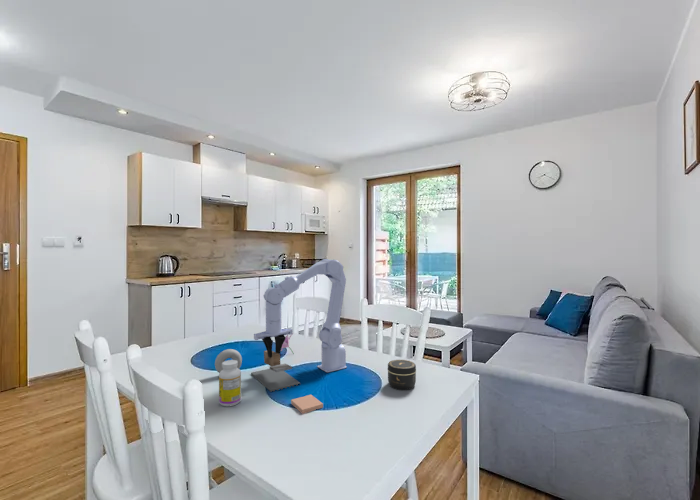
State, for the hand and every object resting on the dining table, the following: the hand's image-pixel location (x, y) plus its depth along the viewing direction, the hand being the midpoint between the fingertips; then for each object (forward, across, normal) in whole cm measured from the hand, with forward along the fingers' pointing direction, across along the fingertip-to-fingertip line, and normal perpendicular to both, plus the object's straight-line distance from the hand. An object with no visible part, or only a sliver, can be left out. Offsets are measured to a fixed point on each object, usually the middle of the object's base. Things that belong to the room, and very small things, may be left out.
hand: (273, 356), depth 129 cm
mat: (+8, 0, +1) cm, 8 cm away
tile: (+8, 0, +23) cm, 24 cm away
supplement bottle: (+9, +19, +11) cm, 24 cm away
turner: (+3, 0, +1) cm, 4 cm away
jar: (+9, -35, +32) cm, 48 cm away
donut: (+9, +13, -13) cm, 20 cm away
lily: (+9, -16, -25) cm, 31 cm away
